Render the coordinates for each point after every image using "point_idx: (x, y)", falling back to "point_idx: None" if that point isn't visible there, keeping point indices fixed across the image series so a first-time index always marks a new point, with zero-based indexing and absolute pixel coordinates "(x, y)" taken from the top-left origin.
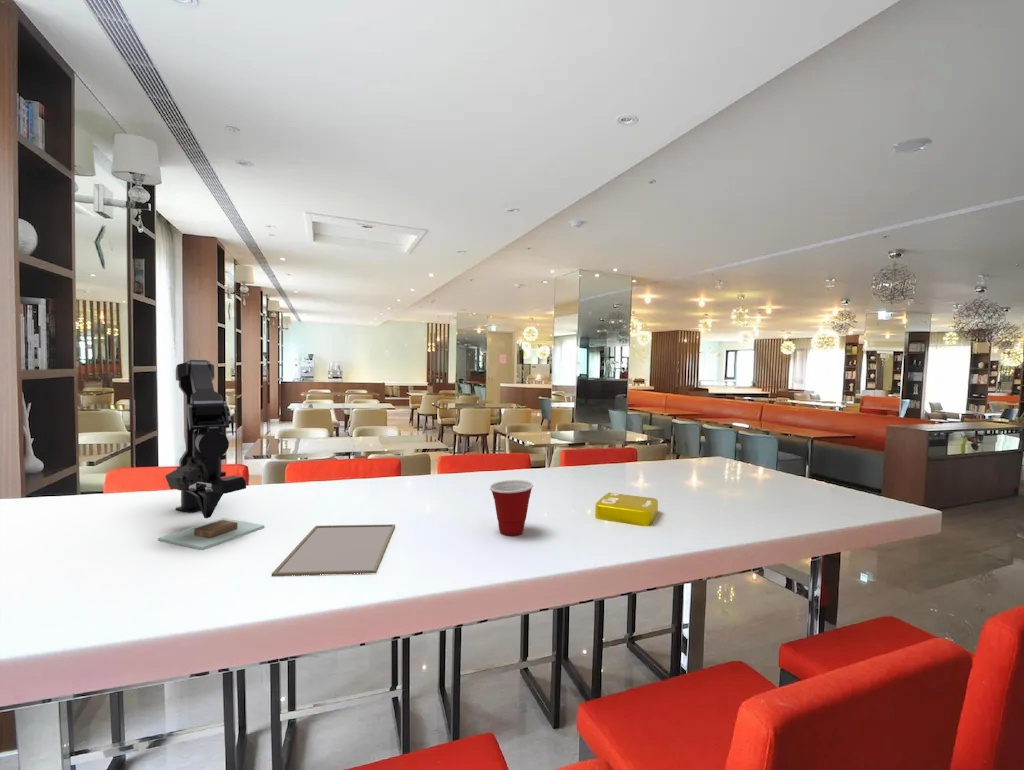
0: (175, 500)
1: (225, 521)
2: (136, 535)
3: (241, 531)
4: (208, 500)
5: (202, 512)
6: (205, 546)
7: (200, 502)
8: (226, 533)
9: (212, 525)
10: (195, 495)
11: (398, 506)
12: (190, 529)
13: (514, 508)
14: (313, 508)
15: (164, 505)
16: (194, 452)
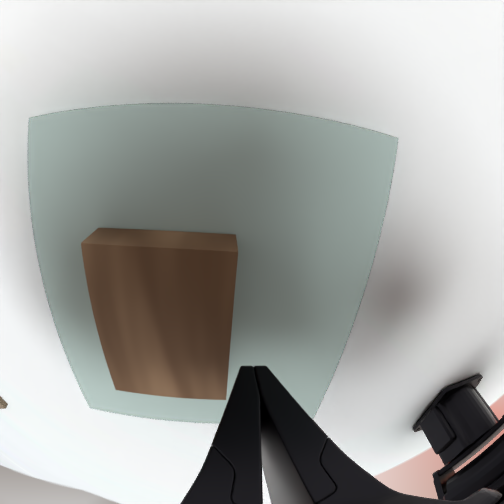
0: (490, 392)
1: (184, 390)
2: (491, 180)
3: (79, 348)
4: (188, 495)
5: (282, 390)
6: (28, 137)
7: (308, 459)
8: None
9: (183, 333)
10: (382, 501)
11: (49, 477)
12: (342, 295)
13: None
14: (155, 487)
15: (501, 370)
16: None
